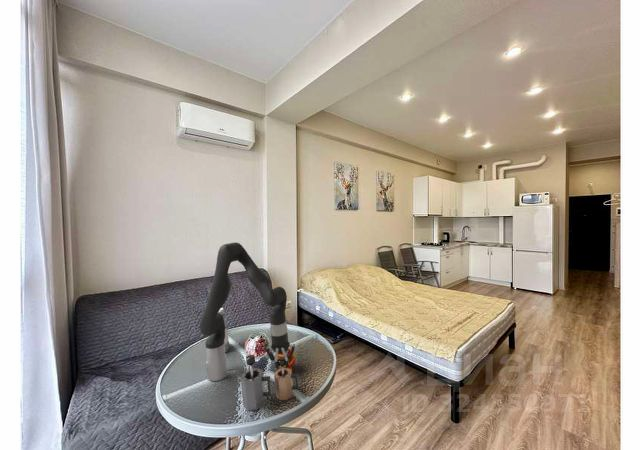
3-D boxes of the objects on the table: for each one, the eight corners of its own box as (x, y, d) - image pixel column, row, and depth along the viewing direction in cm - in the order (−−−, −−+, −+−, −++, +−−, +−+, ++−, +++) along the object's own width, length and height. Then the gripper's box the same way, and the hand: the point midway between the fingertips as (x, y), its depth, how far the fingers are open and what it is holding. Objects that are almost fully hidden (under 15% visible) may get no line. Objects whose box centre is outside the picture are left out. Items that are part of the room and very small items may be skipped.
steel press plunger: (248, 400, 113) (244, 359, 112) (251, 394, 116) (247, 355, 115) (257, 400, 113) (253, 359, 112) (259, 393, 116) (255, 354, 115)
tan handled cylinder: (275, 400, 115) (273, 379, 114) (278, 388, 122) (276, 368, 122) (298, 398, 115) (296, 377, 114) (299, 387, 122) (297, 366, 122)
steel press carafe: (241, 411, 110) (238, 382, 109) (247, 396, 119) (244, 369, 118) (270, 408, 110) (267, 379, 109) (273, 394, 119) (271, 367, 118)
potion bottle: (293, 376, 130) (291, 348, 130) (274, 375, 133) (272, 347, 132) (299, 364, 141) (297, 338, 140) (281, 363, 143) (279, 337, 142)
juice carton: (214, 356, 156) (210, 313, 154) (214, 348, 166) (209, 308, 164) (229, 352, 159) (225, 310, 158) (228, 345, 169) (224, 305, 168)
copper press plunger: (280, 393, 117) (277, 361, 116) (281, 388, 120) (278, 357, 119) (287, 392, 117) (284, 361, 116) (288, 387, 120) (285, 356, 119)
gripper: (261, 336, 113) (265, 374, 114) (293, 334, 113) (297, 371, 114) (265, 329, 121) (268, 364, 122) (295, 326, 121) (298, 361, 122)
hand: (282, 367), depth 118 cm, fingers closed on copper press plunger, 3 cm apart
